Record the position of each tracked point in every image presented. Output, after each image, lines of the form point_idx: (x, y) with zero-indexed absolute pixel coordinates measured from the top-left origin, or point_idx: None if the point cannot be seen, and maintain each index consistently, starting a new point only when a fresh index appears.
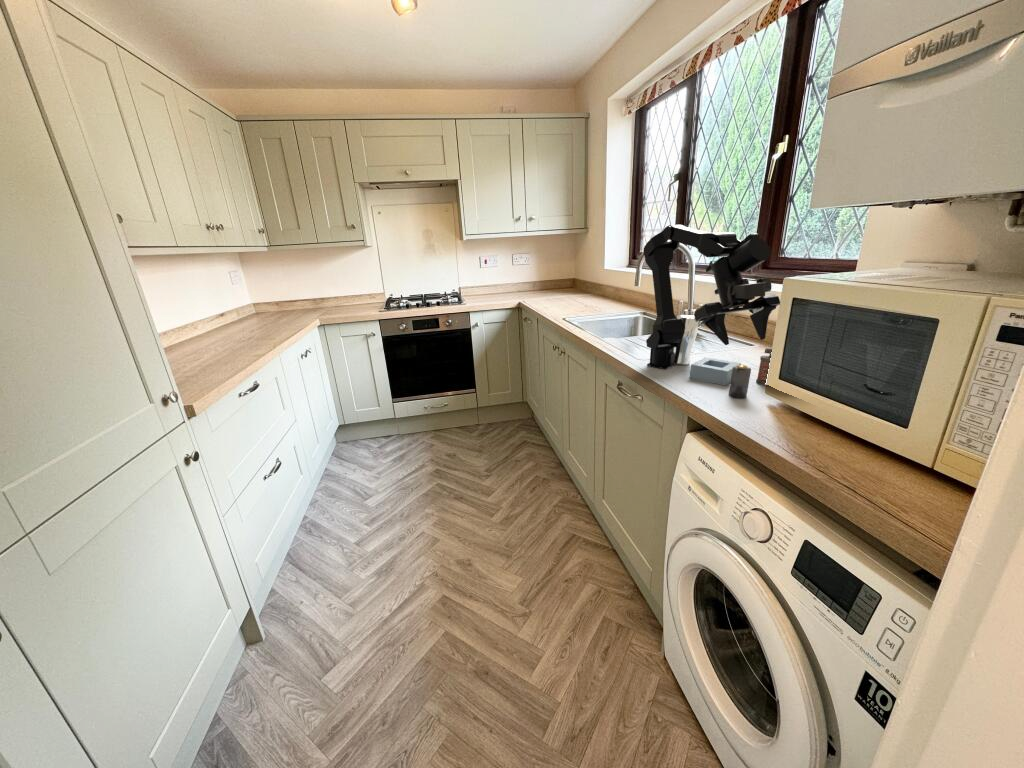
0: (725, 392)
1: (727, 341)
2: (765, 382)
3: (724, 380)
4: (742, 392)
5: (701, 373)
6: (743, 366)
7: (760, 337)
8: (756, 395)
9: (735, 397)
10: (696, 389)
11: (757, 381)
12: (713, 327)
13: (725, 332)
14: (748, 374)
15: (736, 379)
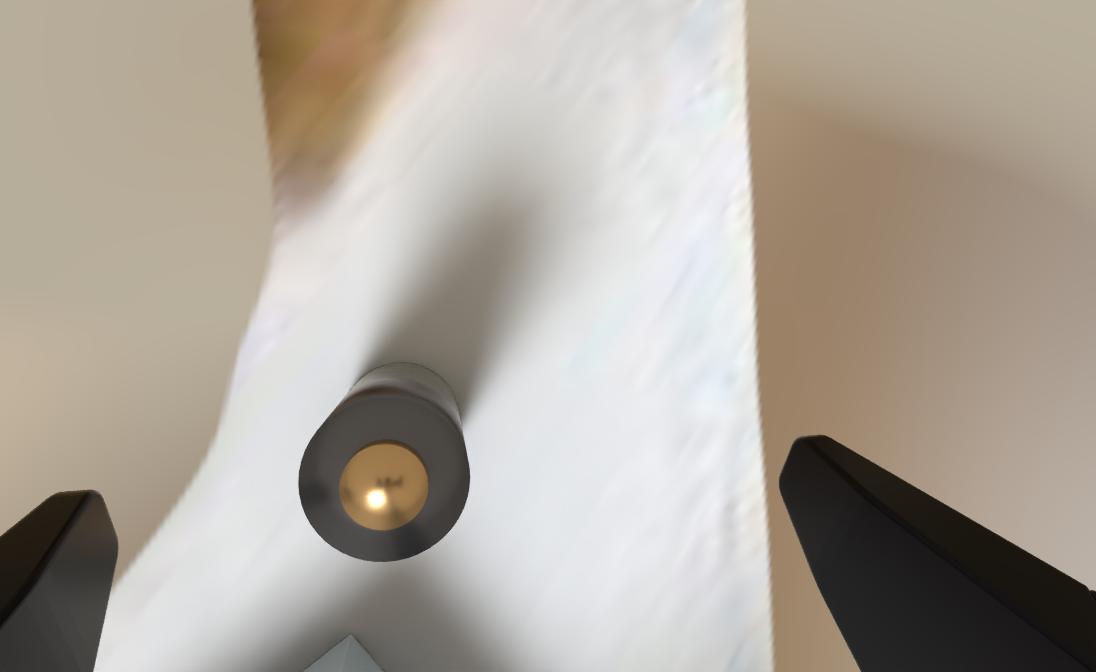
0: None
1: (848, 451)
2: None
3: (355, 664)
4: (407, 369)
5: None
6: (379, 475)
7: (100, 584)
8: (256, 403)
9: (443, 381)
10: (601, 584)
11: None
12: None
13: (987, 565)
14: (364, 395)
15: (455, 417)
